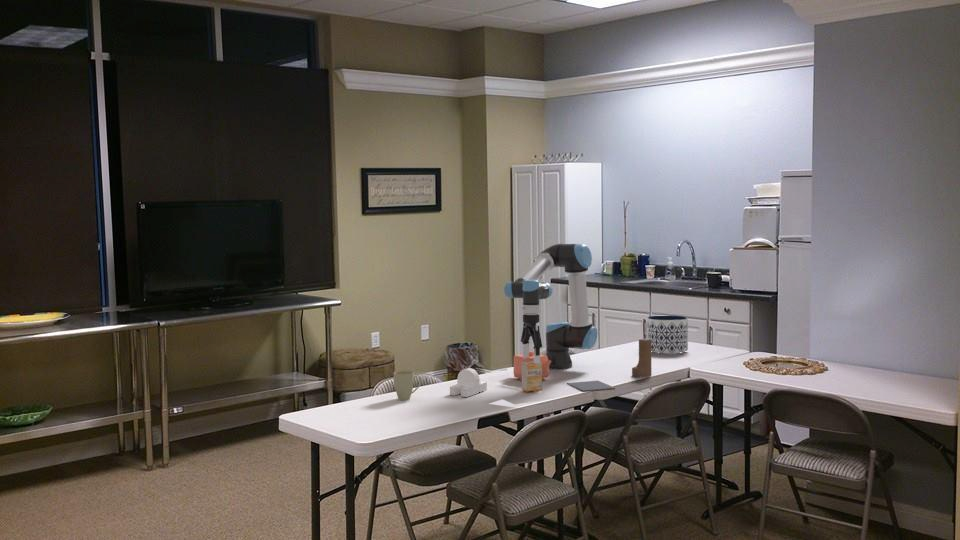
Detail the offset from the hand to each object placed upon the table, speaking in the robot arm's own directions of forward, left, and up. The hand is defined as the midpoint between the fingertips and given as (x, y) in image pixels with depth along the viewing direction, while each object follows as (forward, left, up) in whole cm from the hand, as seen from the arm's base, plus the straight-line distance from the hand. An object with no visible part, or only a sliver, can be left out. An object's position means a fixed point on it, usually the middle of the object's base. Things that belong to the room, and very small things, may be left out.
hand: (531, 360), depth 394 cm
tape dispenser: (-8, -28, -14) cm, 32 cm away
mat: (+3, +28, -14) cm, 32 cm away
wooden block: (-10, +62, -14) cm, 64 cm away
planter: (-65, +108, -14) cm, 127 cm away
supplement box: (0, 0, -14) cm, 14 cm away
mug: (-3, -58, -14) cm, 59 cm away
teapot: (-21, +8, -14) cm, 26 cm away
